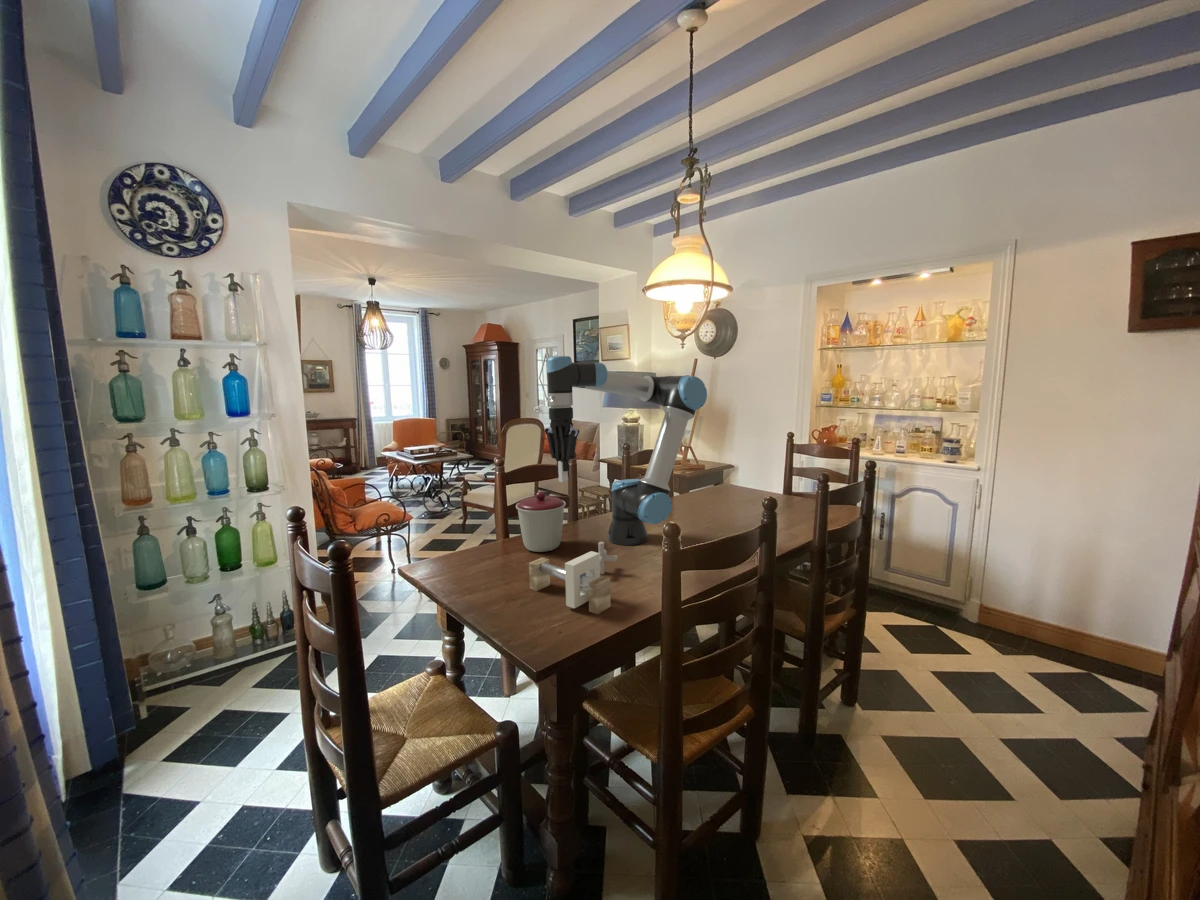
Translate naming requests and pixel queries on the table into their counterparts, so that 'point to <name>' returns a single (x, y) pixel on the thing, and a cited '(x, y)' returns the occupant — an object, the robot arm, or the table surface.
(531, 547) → the canister
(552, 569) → the steel rod
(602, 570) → the pipe connector
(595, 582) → the rod support stand
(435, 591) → the table surface
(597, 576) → the collar
